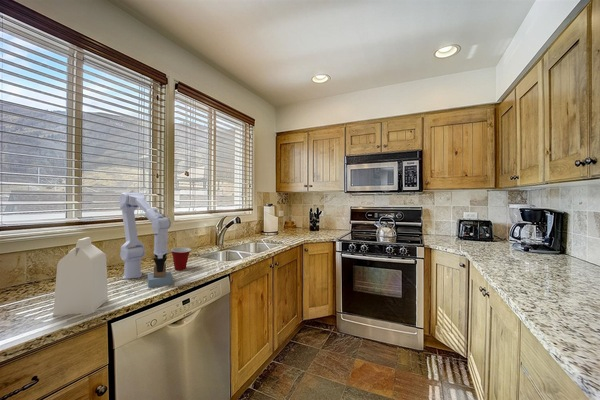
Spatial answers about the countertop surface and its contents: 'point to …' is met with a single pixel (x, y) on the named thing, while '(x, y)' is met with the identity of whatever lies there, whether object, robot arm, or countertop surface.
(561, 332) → the countertop surface
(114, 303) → the countertop surface
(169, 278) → the slate block
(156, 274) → the walnut cube
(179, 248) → the plastic cup
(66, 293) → the milk
